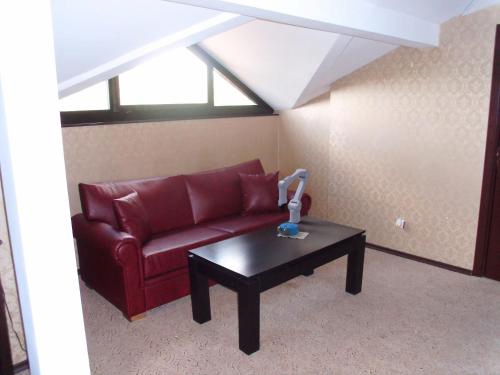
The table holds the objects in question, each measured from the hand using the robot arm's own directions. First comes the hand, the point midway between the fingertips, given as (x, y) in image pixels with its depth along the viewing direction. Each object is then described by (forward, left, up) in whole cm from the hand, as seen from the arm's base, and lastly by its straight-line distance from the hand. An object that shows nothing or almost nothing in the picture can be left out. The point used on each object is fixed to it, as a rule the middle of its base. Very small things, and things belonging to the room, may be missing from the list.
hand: (282, 212), depth 322 cm
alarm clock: (+11, +14, -7) cm, 19 cm away
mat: (+19, +15, -10) cm, 26 cm away
